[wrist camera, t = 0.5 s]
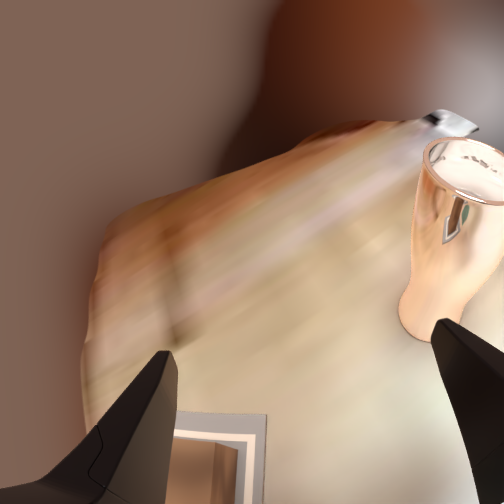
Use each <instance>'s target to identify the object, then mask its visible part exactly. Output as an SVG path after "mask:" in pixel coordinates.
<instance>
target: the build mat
mask: <svg viewBox="0 0 504 504" xmlns="http://www.w3.org/2000/svg"><path fill="white" fill-rule="evenodd" d="M266 425H267V415H266V414H219V413H200V412H186V411H177V414H176V422H175V429H174V436H173V438H179V439H187V440H196V441H207V442H216V443H219V444H222V445H225V446H228V447H231V448H234V449H237V450H238V459H237V473H236V488H235V503H234V504H263V491H264V471H265V449H266Z"/></svg>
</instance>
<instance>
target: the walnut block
mask: <svg viewBox="0 0 504 504" xmlns="http://www.w3.org/2000/svg"><path fill="white" fill-rule="evenodd" d="M237 459H238V450H237V449H234V448H231V447H228V446H225V445H222V444H219V443H216V442H207V441H196V440H187V439H179V438H173V443H172V450H171V458H170V466H169V474H168V482H167V491H166V500H165V504H234V503H235V488H236V473H237Z"/></svg>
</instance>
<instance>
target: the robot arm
mask: <svg viewBox="0 0 504 504" xmlns="http://www.w3.org/2000/svg"><path fill="white" fill-rule="evenodd" d="M431 345H432V348H433V351H434V354H435V358H436V361H437V364H438V368H439V371H440V375H441V378H442V380H443V383H444V386H445V388H446V391H447V394H448V396H449V399H450V402H451V405H452V407H453V410H454V413H455V416H456V419H457V422H458V425H459V428H460V431H461V434H462V437H463V441H464V444H465V447H466V451H467V454H468V458H469V461H470V465H471V468H472V473H473V477H474V481H475V485H476V489H477V494H478V499H479V503H480V504H501V503H503V502H504V353H503V352H501V351H500V350H498V349H497V348H495V347H494V346H492V345H491V344H489V343H488V342H486V341H484V340H483V339H481V338H480V337H478V336H476V335H475V334H473V333H472V332H470V331H469V330H467V329H465V328H464V327H462V326H460V325H459V324H457V323H456V322H454V321H452V320H451V319H449V318H442V319H439V320H437V322H436V324H435V327H434V329H433V332H432V334H431ZM177 384H178V369H177V365H176V363H175V360H174V357H173V355H172V353H171V351H158V352H157V353H156V354H155V355H154V356H153V357H152V358H151V360H150V361H149V362H148V363H147V364H146V366H145V367H144V368H143V369H142V370H141V371H140V373H139V374H138V375H137V376H136V377H135V379H134V380H133V381H132V382H131V383H130V385H129V386H128V387H127V388H126V389H125V390H124V392H123V393H122V394H121V395H120V396H119V398H118V399H117V400H116V401H115V402H114V404H113V405H112V406H111V407H110V408H109V409H108V411H107V412H106V413H105V414H104V415H103V417H102V418H101V419H100V420H99V421H98V423H97V425H95V426H94V427H93V428H92V430H91V431H90V432H89V433H88V434H87V435H86V437H85V438H84V439H83V440H82V441H81V442H80V443H79V444H78V445H77V446H76V447H75V448H74V449H73V450H72V451H71V452H70V453H69V454H68V455H67V456H66V457H65V458H64V459H63V460H62V461H61V462H60V463H59V464H58V465H56V466H55V467H54V468H53V469H52V470H51V471H50V472H49V473H48V474H47V475H45V476H44V477H42V478H41V479H39V480H37V481H34V482H30V483H26V484H21V485H17V486H12V487H7V488H1V489H0V504H165V500H166V491H167V482H168V474H169V466H170V458H171V450H172V443H173V436H174V429H175V422H176V414H177Z"/></svg>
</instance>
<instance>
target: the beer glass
mask: <svg viewBox="0 0 504 504" xmlns="http://www.w3.org/2000/svg"><path fill="white" fill-rule="evenodd" d="M503 255H504V153H502V152H501V151H499V150H497V149H496V148H494V147H492V146H489V145H487V144H485V143H483V142H480V141H476V140H473V139H469V138H463V137H445V138H440V139H437V140H434V141H432V142H431V143H429V144H428V145H427V146H426V148H425V150H424V152H423V162H422V168H421V172H420V177H419V182H418V186H417V191H416V197H415V203H414V208H413V216H412V225H411V279H410V282H409V285H408V287H407V288H406V290H405V291H404V293H403V295H402V297H401V299H400V302H399V308H398V310H399V317H400V321H401V323H402V325H403V326H404V328H405V329H406V330H407V331H408V332H409V333H410V334H411V335H412V336H414V337H415V338H417V339H419V340H422V341H426V342H431V334H432V332H433V329H434V327H435V324H436V322H437V320H439V319H442V318H449V319H451V320H452V321H454V322H456V323H457V324H459V322H460V319H461V316H462V312H463V309H464V307H465V305H466V303H467V302H468V301H469V300H470V298H471V297H472V296H473V295H474V294H475V293H476V292H477V291H478V290H479V289H480V288H481V286H482V285H483V284H484V283H485V282H486V281H487V280H488V278H489V277H490V276H491V274H492V273H493V272H494V270H495V269H496V267H497V266H498V265H499V263H500V261H501V259H502V257H503Z"/></svg>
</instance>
